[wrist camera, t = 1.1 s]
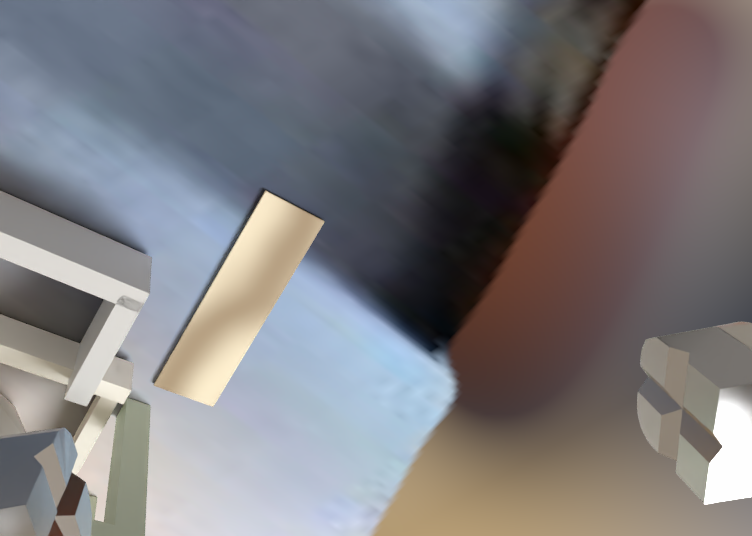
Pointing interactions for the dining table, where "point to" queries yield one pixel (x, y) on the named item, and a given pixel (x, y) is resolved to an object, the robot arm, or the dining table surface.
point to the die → (9, 418)
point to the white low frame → (108, 328)
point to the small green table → (126, 475)
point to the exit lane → (239, 299)
